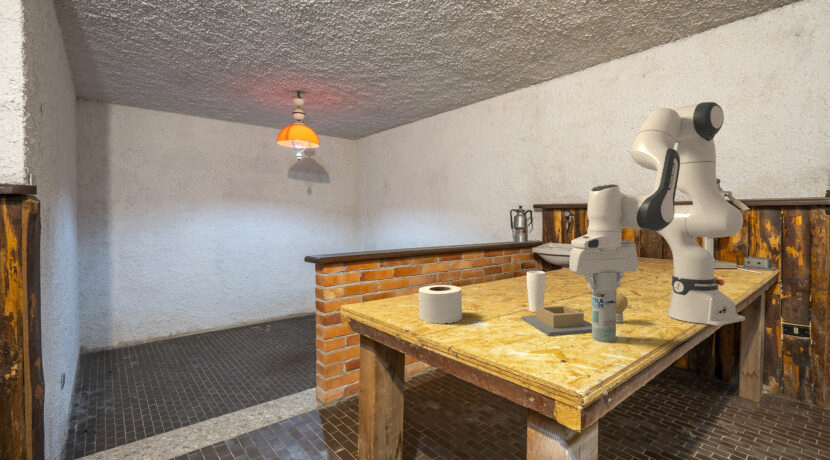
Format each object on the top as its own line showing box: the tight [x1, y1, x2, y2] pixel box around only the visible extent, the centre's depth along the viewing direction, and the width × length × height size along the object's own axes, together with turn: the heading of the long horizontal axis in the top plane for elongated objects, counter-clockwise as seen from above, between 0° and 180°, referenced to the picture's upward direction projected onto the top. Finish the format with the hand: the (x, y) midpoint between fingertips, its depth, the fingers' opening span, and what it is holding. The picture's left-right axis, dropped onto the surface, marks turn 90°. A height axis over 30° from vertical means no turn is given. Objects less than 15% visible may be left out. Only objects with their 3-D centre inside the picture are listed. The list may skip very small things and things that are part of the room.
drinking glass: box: [526, 270, 546, 314], centre depth 138 cm, size 7×7×15 cm
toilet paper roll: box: [418, 284, 463, 325], centre depth 132 cm, size 16×15×11 cm
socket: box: [520, 304, 592, 337], centre depth 121 cm, size 18×18×5 cm
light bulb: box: [616, 292, 629, 324], centre depth 123 cm, size 6×6×10 cm
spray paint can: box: [591, 272, 618, 343], centre depth 107 cm, size 6×6×20 cm
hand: (603, 287), depth 107 cm, fingers closed on spray paint can, 6 cm apart
